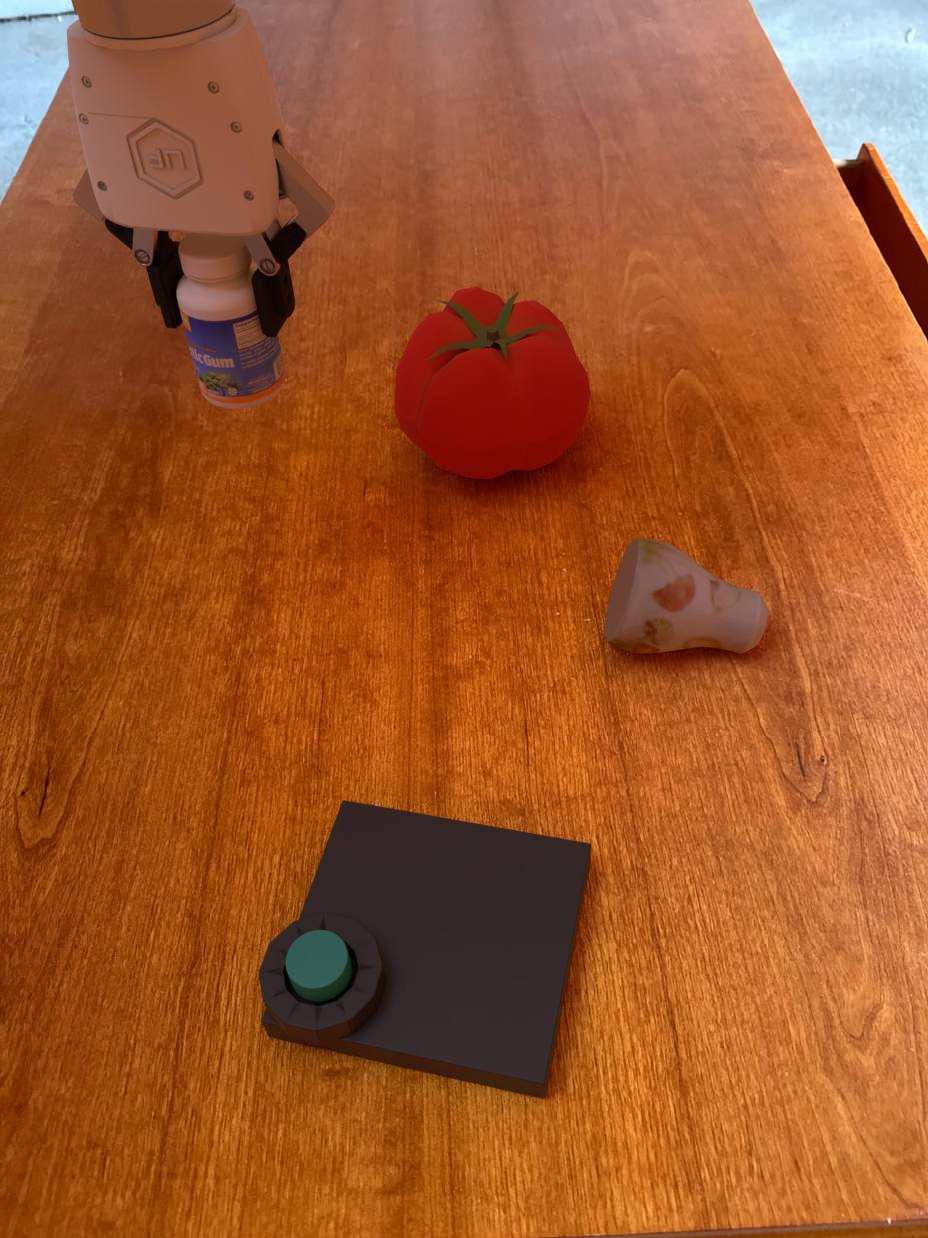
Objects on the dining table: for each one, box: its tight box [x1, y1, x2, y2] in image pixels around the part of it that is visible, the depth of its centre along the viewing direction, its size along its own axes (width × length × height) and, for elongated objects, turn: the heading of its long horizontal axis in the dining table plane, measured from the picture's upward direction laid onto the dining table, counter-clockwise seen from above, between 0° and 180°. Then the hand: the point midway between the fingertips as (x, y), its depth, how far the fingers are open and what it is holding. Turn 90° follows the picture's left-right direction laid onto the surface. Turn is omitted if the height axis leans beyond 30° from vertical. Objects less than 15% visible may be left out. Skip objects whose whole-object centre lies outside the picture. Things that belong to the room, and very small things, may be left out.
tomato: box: [394, 285, 592, 481], centre depth 82 cm, size 13×14×12 cm
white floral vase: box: [603, 537, 769, 654], centre depth 71 cm, size 8×10×10 cm
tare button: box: [286, 930, 352, 1002], centre depth 55 cm, size 3×3×2 cm
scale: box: [257, 799, 592, 1100], centre depth 58 cm, size 14×13×4 cm
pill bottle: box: [176, 233, 287, 410], centre depth 68 cm, size 5×5×10 cm
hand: (229, 317), depth 68 cm, fingers closed on pill bottle, 5 cm apart
